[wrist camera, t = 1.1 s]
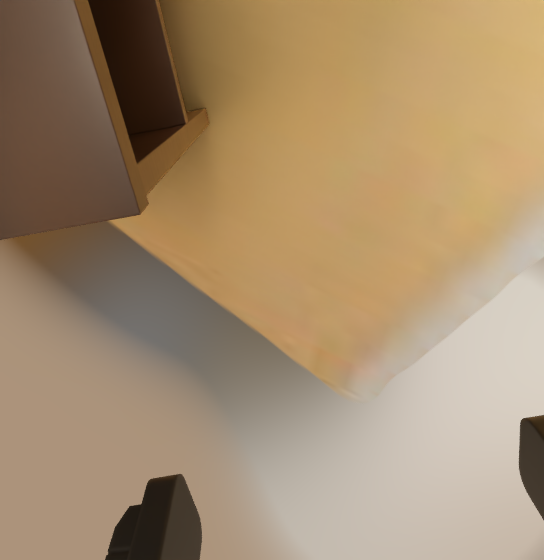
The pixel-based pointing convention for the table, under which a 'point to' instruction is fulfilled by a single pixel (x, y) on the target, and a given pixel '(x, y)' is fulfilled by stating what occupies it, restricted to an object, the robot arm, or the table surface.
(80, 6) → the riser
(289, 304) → the table surface
